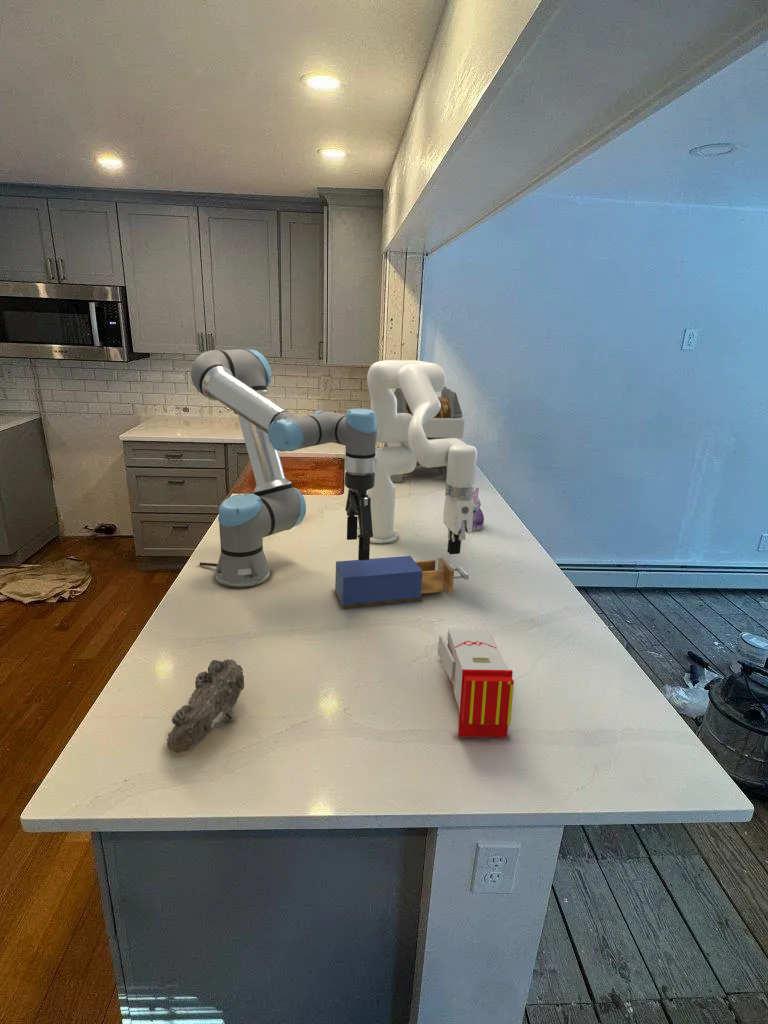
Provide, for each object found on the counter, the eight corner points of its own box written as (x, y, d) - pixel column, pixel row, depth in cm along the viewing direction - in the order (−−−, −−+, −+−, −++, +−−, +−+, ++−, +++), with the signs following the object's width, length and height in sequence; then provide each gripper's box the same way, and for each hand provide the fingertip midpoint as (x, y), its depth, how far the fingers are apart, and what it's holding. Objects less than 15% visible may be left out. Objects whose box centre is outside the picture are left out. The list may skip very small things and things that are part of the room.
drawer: (457, 577, 167) (459, 555, 165) (470, 591, 159) (472, 568, 157) (373, 585, 160) (374, 562, 158) (381, 600, 152) (383, 576, 150)
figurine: (469, 533, 203) (473, 493, 198) (453, 523, 211) (457, 485, 206) (490, 530, 207) (495, 490, 202) (474, 520, 215) (478, 482, 210)
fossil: (192, 660, 117) (244, 628, 112) (224, 691, 120) (276, 661, 115) (142, 746, 98) (202, 712, 93) (182, 779, 101) (242, 748, 96)
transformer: (382, 463, 289) (386, 382, 275) (445, 464, 293) (451, 384, 279) (390, 482, 257) (394, 392, 243) (460, 483, 261) (468, 394, 247)
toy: (488, 613, 130) (523, 677, 101) (484, 667, 133) (517, 744, 104) (435, 612, 130) (455, 676, 101) (432, 666, 133) (451, 743, 103)
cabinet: (408, 583, 164) (410, 555, 161) (420, 600, 155) (422, 571, 152) (335, 590, 158) (335, 561, 155) (342, 608, 149) (343, 577, 146)
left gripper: (388, 485, 132) (384, 568, 140) (362, 458, 155) (360, 530, 162) (356, 487, 130) (354, 570, 138) (335, 459, 153) (334, 532, 160)
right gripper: (484, 498, 147) (477, 563, 153) (461, 482, 160) (455, 541, 166) (457, 500, 145) (451, 565, 151) (436, 483, 158) (431, 543, 164)
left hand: (357, 549), depth 150 cm, fingers open, 13 cm apart
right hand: (453, 552), depth 158 cm, fingers closed
